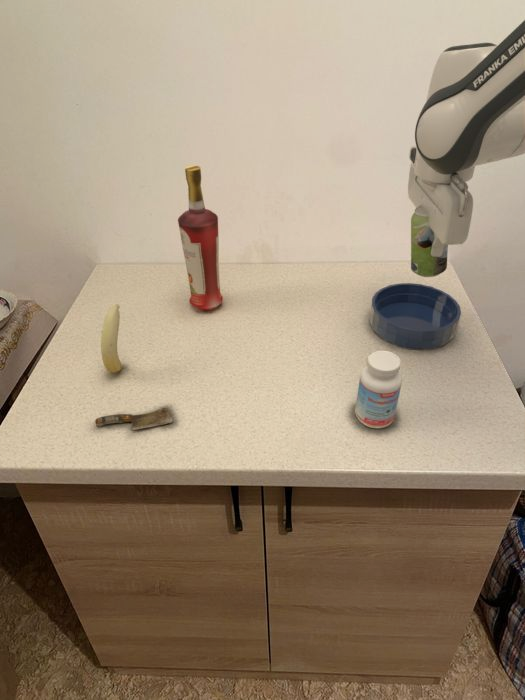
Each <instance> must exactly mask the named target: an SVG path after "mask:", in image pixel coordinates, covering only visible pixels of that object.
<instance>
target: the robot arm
mask: <svg viewBox="0 0 525 700" xmlns="http://www.w3.org/2000/svg"><path fill="white" fill-rule="evenodd" d="M433 67H434V68H433V71H432V73H431V77H430V80H429V85H428V91H427V95H426V100H425V103H424V104H423V107H422V108H421V110H420V113H419V115H418V118H417V120H416V123H415V129H414V141H415V145H412V146H410V148H409V153H408V154H409V155H408V157H409V158H408V159H409V160H410V161H411V162H410V166H409V171H408V172H409V173H408V181H407V196H408V199H409V200H410V201H411V203H412V204H413V206H414V208H415V209H416V208H417V207H419V206H421V207H422V208H423V209H424V211H425V212H426V213H427V214H428V215H429V226H430V228H431V229H432V231H433V232H434V238H435V239H434V241H433V244H431V247H430V254H431V255H432V256H433V257H436V256H441V255H442V252H443V248H444V246H445V245H448V246H455V245H463V244H464V243H465V242H466V241H467V240H468V237H469V233H470V228H471V222H472V217H473V216H472V215H473V210H474V197H473V195H472V194H471V192H470V191H469V185H468V183H467V182H469V181H471V180H472V179H473V176H474V172H475V170H476V169H475V168H476V167H477V166H481V165H486V164H489V163H495V162H498V161H503V160H505V159H511V158H515V157H519V156H522V155H525V19H524V20H523V21H522V22H521V23H520V24H519V25H517V27H516V28H515V29H513V31H511V32H510V33H509V34H508V35H507V36H506V37H505V38H504V39H502V41H501V42H500V43H499V44H495V43H493V42H479V43H471V44H470V43H469V44H462V45H453V46H450V47H448V48H445V49H444V50H443V51H442V52H441V53H440V54H439V56H438V58H437V60H436V62H435V64H434V66H433Z"/></svg>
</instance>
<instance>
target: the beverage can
mask: <svg viewBox="0 0 525 700" xmlns="http://www.w3.org/2000/svg"><path fill="white" fill-rule="evenodd" d="M434 239H435V238H434V232H433V231H432V229H431V228H430V226H429V215H428V214H427V213H426V212H425V211H424V209H423V208H422V207H421V206H419V207H417V208H416V207H415V209H414V212H413V214H412V215H411V218H410V270H411V272H413V273H414V274H415V275H417V276H419V277H422V278H434V277H437V276H439V275H441V274H442V273H444V272H445V271H446V270H447V268H448V254H449V253H448V251H449V245H445V246H444V248H443V252H442V255H441V256H436V257H433V256H432V255H431V254H430V247H431V244H433V241H434Z"/></svg>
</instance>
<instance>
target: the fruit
mask: <svg viewBox="0 0 525 700" xmlns="http://www.w3.org/2000/svg"><path fill="white" fill-rule="evenodd" d="M120 319H121V315H120V305H119V304H118V303H115V304H114V305H111V306H110V307H109V308H108V310H107V311H106V314H105V317H104V319H103V324H102V329H101V335H100V353H101V354H100V355H101V360H102V363H103V366H104V369H106V371H108V372H109V373H114V374H115V373H118V372H120V371H121V370H122V361H121V359H120V357H119V353H118V338H119V329H120V321H121V320H120Z"/></svg>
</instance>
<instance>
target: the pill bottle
mask: <svg viewBox="0 0 525 700" xmlns="http://www.w3.org/2000/svg"><path fill="white" fill-rule="evenodd" d="M401 364H402V362H401V359H400V357H399V356H398V355H397V354H395V353H394V352H391V351H389V350H376V351H373V352H371V353H370V354H369V355H368V357H367V361H366V365H365V366H364V367H363V368H362V369H361V372H360V375H359V382H358V387H357V388H358V389H357V395H356V400H355V407H354V408H355V409H354V413H355V416H356V418H357V419H358V421H359V422H360V423H361V424H363V425H364V426H366V427H367V428H371V429H383V428H386V427H389V426H390V425H392V423H393V422H394V420H395V416H396V413H397V408H398V407H397V406H398V402H399V398H400V394H401V388H402V383H403V376H402V374H401V373H402V372H400V370H401Z"/></svg>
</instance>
